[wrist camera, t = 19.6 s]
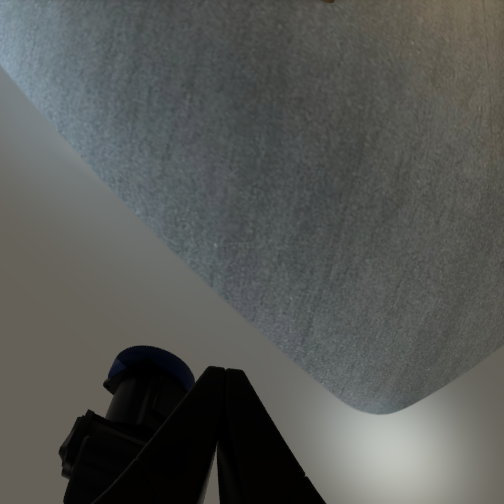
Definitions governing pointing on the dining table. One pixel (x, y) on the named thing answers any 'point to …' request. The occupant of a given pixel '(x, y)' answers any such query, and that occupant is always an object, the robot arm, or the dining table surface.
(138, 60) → the dining table surface
